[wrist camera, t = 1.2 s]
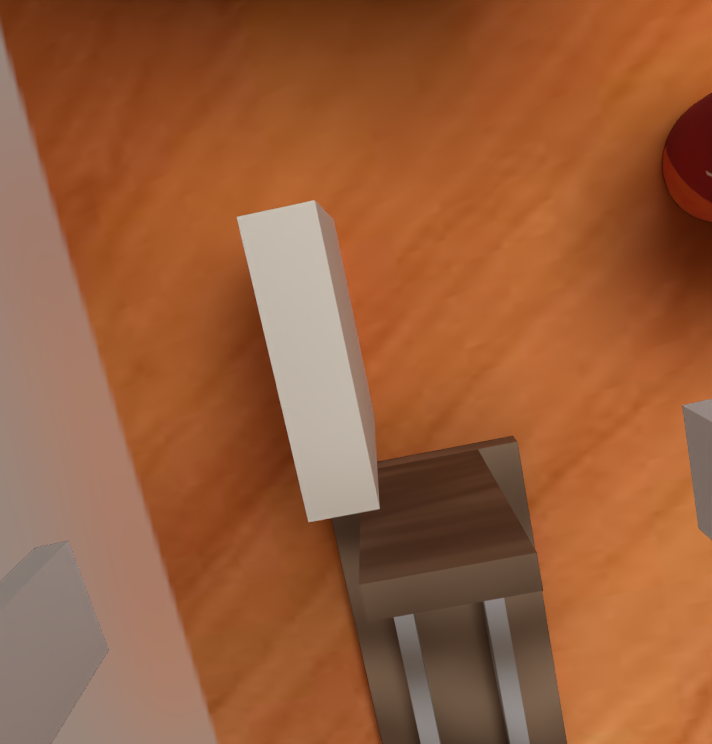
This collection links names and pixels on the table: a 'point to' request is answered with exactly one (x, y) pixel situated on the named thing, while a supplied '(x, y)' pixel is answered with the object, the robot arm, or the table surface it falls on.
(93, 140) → the table surface
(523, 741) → the track
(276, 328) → the door panel
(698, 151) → the coffee cup
